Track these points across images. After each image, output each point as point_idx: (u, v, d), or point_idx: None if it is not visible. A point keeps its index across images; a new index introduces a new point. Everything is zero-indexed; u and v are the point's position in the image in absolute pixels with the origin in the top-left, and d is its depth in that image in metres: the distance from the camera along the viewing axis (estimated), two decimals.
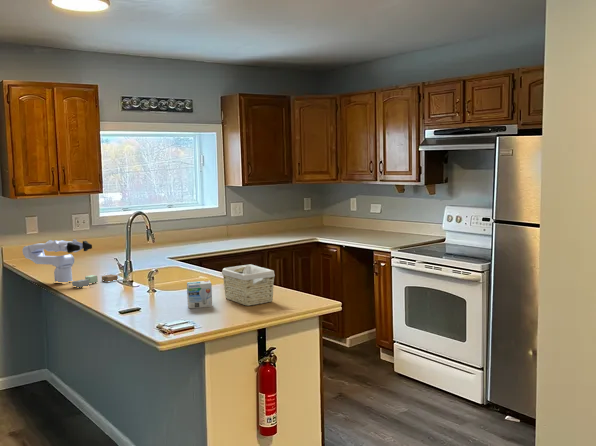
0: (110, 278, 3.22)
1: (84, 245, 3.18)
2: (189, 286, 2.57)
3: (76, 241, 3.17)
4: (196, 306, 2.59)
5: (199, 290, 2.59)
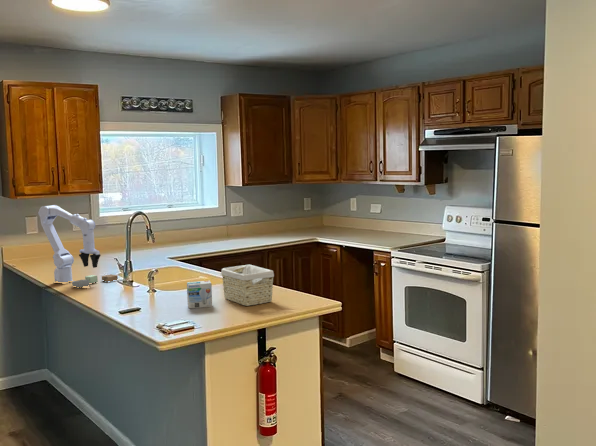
0: (110, 278, 3.22)
1: (86, 256, 3.21)
2: (189, 286, 2.57)
3: None
4: (196, 306, 2.59)
5: (199, 290, 2.59)
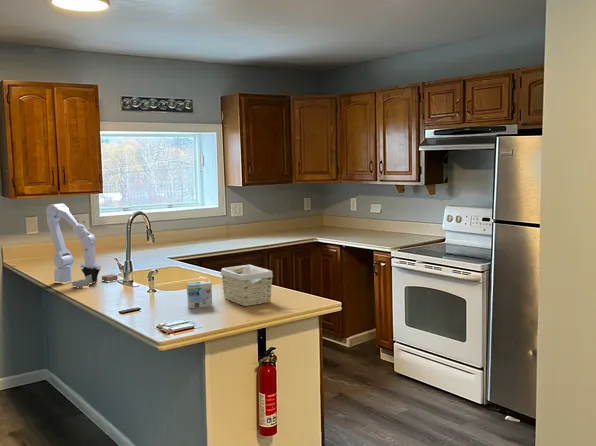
0: (110, 278, 3.22)
1: (88, 270, 3.21)
2: (189, 286, 2.57)
3: None
4: (196, 306, 2.59)
5: (199, 290, 2.59)
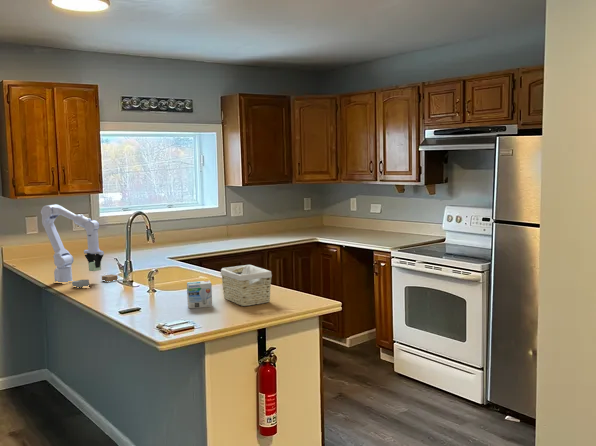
0: (109, 278, 3.22)
1: (92, 256, 3.21)
2: (189, 286, 2.57)
3: None
4: (196, 306, 2.59)
5: (199, 290, 2.59)
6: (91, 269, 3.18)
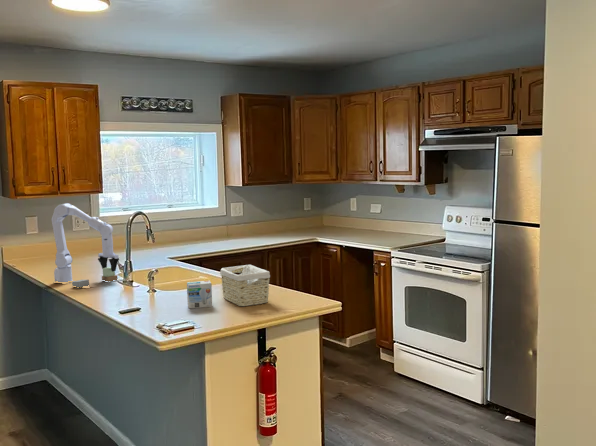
0: (109, 278, 3.22)
1: (104, 259, 3.26)
2: (189, 286, 2.57)
3: None
4: (196, 306, 2.59)
5: (199, 290, 2.59)
6: (105, 274, 3.23)
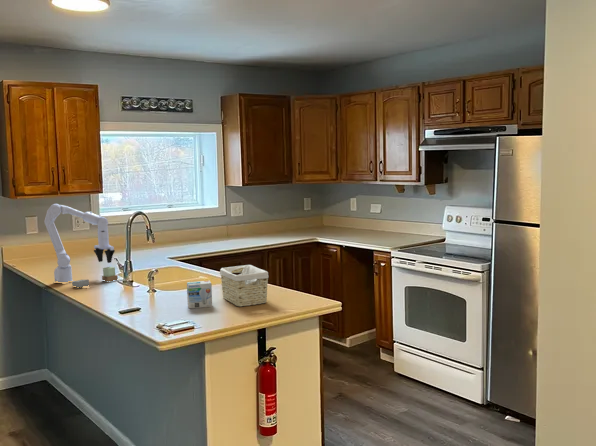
0: (109, 278, 3.22)
1: (100, 251, 3.32)
2: (189, 286, 2.57)
3: None
4: (196, 306, 2.59)
5: (199, 290, 2.59)
6: (105, 274, 3.23)
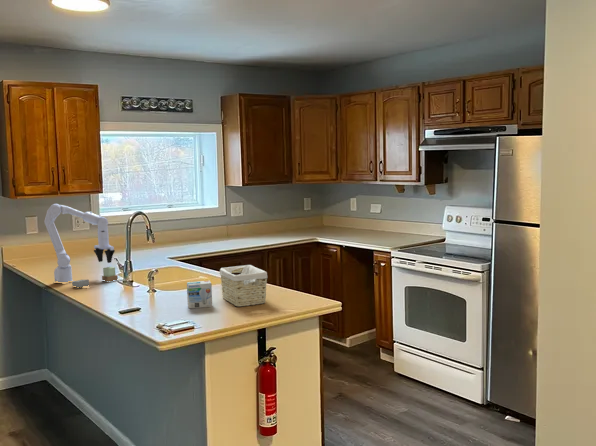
0: (109, 278, 3.22)
1: (100, 251, 3.32)
2: (189, 286, 2.57)
3: None
4: (196, 306, 2.59)
5: (199, 290, 2.59)
6: (106, 274, 3.23)
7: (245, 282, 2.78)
